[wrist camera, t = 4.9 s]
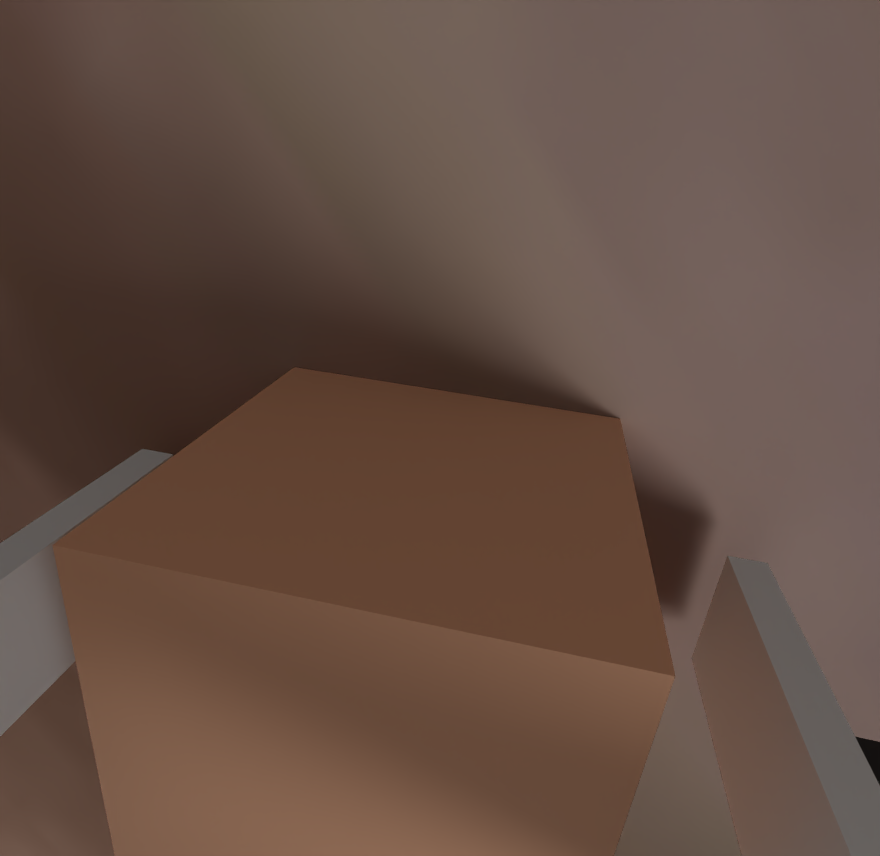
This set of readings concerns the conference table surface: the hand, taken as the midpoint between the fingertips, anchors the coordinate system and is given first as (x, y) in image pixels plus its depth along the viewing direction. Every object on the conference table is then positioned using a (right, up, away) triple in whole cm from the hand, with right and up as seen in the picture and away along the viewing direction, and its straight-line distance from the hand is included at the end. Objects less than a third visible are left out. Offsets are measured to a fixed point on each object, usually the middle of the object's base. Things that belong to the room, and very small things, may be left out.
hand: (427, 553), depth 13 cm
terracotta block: (0, 0, +1) cm, 1 cm away
